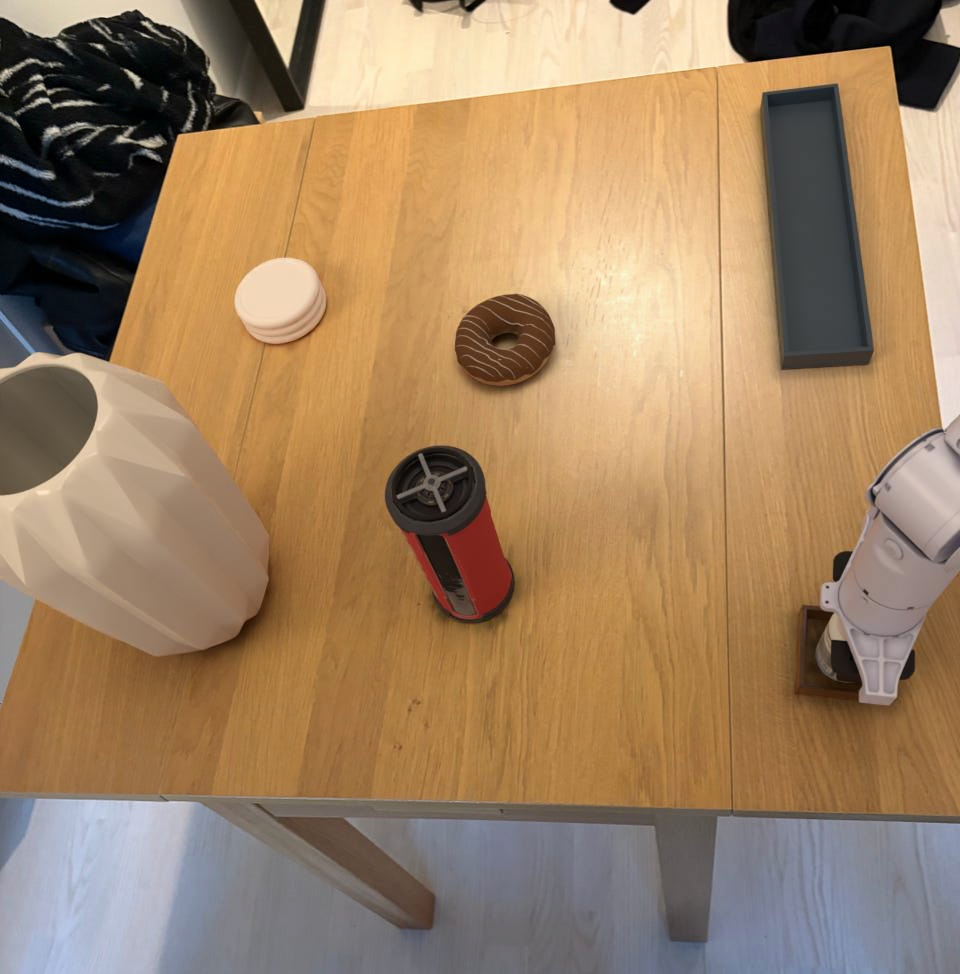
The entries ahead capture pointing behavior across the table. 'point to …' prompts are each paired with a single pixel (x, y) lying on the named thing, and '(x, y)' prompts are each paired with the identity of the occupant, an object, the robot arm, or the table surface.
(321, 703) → the table surface
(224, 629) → the vase
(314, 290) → the pale pink macaron
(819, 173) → the tray
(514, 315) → the donut
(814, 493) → the table surface
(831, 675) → the pill bottle
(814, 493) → the table surface
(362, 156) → the table surface
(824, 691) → the brown wooden square frame
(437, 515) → the speaker
